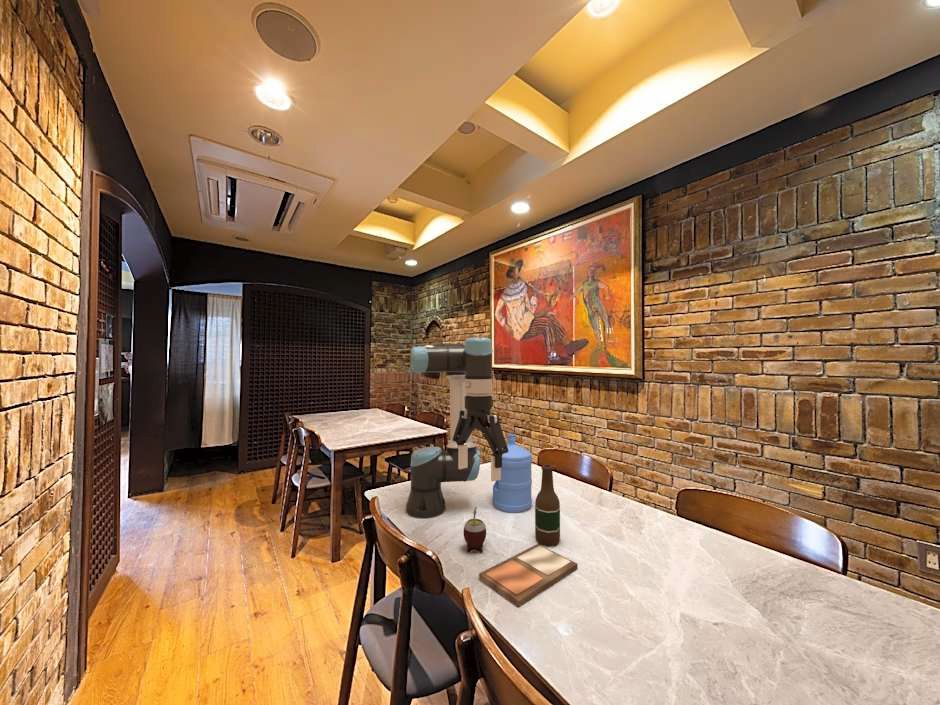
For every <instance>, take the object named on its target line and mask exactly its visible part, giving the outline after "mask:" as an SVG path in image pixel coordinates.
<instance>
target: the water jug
mask: <svg viewBox="0 0 940 705" xmlns="http://www.w3.org/2000/svg"><path fill="white" fill-rule="evenodd" d="M507 436H508V437H507V443H506V444H507V447H508V453H504V454H503V455H502V467H501V479H500V480H497V481H494V482H495V483H494V484H493V485H492V498H491V499H492V505H493V507H495V508H496V509H498V510H500V511H503V512H506V513H508V512H509V513H521V512H525V511H527V510H530V508H531V507H532V505H533V498H532V485H533V480H532V464H533V463H532V462H533V461H532V460H533V458H532V453H531V451H530V450H527V449H526V448H523V447H521V446H519V445H517V439H516V436H517V434H515V433H508V434H507ZM502 449H503V448H502ZM496 450H497V449H496Z"/></svg>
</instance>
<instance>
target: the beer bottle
mask: <svg viewBox="0 0 940 705" xmlns="http://www.w3.org/2000/svg"><path fill="white" fill-rule="evenodd" d="M553 470H554V466H552V465H551V464H542V466H541V482H540V483H541V486H540V489H539V490H540V491H539V492H538V493H537V495H536V498H535V503H534V508H535V509H534V519H535V520H534V527H535V528H534V534H535V536H534V537H535V540H536V542H537V544H539V545H541V546H543V547H546V548H549V547H556V546H558V544H559V543H560V541H561V504H560V503H561V502H560V499H559V496H558V494H556V492H555V488H554V477H553V476H554V475H553Z"/></svg>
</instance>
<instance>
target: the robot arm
mask: <svg viewBox="0 0 940 705" xmlns="http://www.w3.org/2000/svg"><path fill="white" fill-rule="evenodd" d="M493 352H494V350H493V341H492V339H491V338H489V337H469V338H466V339H465V340H464V343H433V344H428V345H424V346H413V347H412V348H411V350H410V370H411V371H412V372H413V373H424V374H425V373H445V378H446V379H448V380H449V425H450V426H449V428H450V429H449V430H450V431H449V432H450V434H449V436H450V440H449V443H448V444H447V445H446V450H442V448H441V447H440V446H426V447H421V448H419V449H416V450H414V451H413V452H412V453H411V455H410V456H411V457H410V464H409V465H410V492H409V495H408V498H407V502H406V504H405V512H406V514H407V515H408V516H411V517H413V518H418V519H427V518H429V519H430V518H433V517H438V516H440V515H442V514H444V513H445V512H446V508H447V506H446V501H445V497H444V494H443V491H442V483H453V482H454V483H455V482H465V483H466V482H470V481H471V482H472V481H473V482H474V481H476V480H477V478H478V476H479V473H480V468H481V452H480V450H479V449H477V445H476V444H475V443H474V442H473V434H472V433H473V431H474V430H477V431H480V433H481V434H483V436H484V438H485V440H486V442H487V444H488V446H489V447H490V450H491V452H492V454H490V481H491V482H496V481H497V480H500V479H501V467H502V455H503V454H504V453H508V447H507V444H508V443H507V442H506V438H505V435H504V433H503V430H502V427H501V423H500V421H501V420H500V415H499V414H491V410H492V409H493V396H492V395H491V394H493ZM502 448H503V449H502ZM496 449H497V450H496Z"/></svg>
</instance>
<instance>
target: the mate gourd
mask: <svg viewBox="0 0 940 705" xmlns="http://www.w3.org/2000/svg"><path fill="white" fill-rule="evenodd" d="M477 509H478V507H477V506H475V508H474V509H473V513H472V514H473V518H470V519H467V521H466V522H465V524H464V526H463V538H464V539H463V540H464V541H465V543H466V547H467V550H466V553H468V554H470V553H471V552H473V551H477V552H479V553H483V552H484V550H483V546H484V542H485V540H486V538H487V526H486V524H485V522H484V521H483V520H482V519H479V518H476V514H477Z"/></svg>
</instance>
